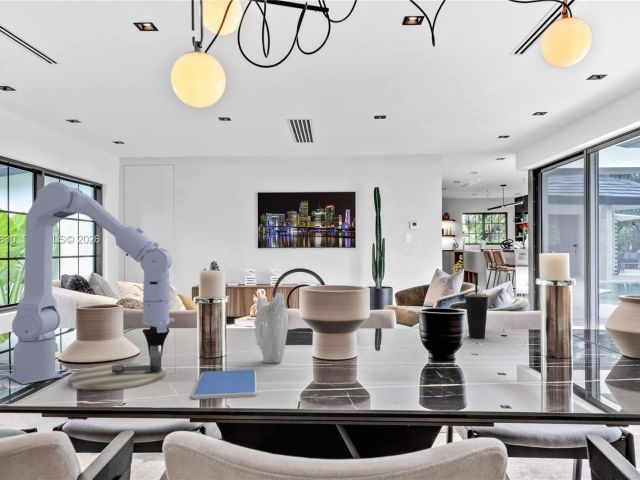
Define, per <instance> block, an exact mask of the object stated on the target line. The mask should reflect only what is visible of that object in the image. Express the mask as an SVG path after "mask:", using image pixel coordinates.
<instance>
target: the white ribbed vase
mask: <svg viewBox="0 0 640 480" xmlns="http://www.w3.org/2000/svg"><path fill="white" fill-rule="evenodd" d="M254 327H255V328H254V334H255V338H256V339H257V343H258V345H259V349H260V350H261V351H260V352H261V354H262V359H263V362H264V363H266V364H279V363H282V362H283V359H284V356H285V349H286V348H285V347H286V342H287V335H288V329H289V315H288V312H287V308H286V307H285V295H284V293H282V292H276V293H275V295H274V297H273V298H272V301H270V302H269V301H268V300H267V299H266V298H263V297H258V300H257V301H256V312H255V320H254Z"/></svg>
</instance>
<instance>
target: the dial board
mask: <svg viewBox="0 0 640 480" xmlns="http://www.w3.org/2000/svg"><path fill="white" fill-rule="evenodd" d="M116 364H117V363H115V364H107V365H106V364H105V365H99V366H95V367H90V368H86V369H83V370H80V371H77V372H74V373H72V374H71V375H70V376H69V377H68V378H67V379H68V380H67V382H68V386H69V385H70V386H71V388H72V387H73V388H72V389H75V388H77V389H76V390H79V389H82V391H89V390H105V391H114V390H113V389H118V390H123V389H122V388H126V389H131V388H130V387H132V388H136V386H138V387H141V386H140V385H142V386H145V385H144V384H146V385H149V384H148V383H150V384H152V383H151V382H153V383H155V382H154V381H156V380H158V379H160V378H162V377H163V376H166V375H165V374H167V369H166V367H165V366H164V365H161V370H159V371H124V372H119V373H113V372H112V366H113V365H116ZM121 364H126V366H132V365H150V362H149V363H148V362H126V363H121ZM163 378H164V377H163ZM163 378H162V379H163ZM160 380H161V379H160ZM158 381H159V380H158ZM156 382H157V381H156ZM70 386H69V387H70Z"/></svg>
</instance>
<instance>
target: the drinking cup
mask: <svg viewBox="0 0 640 480" xmlns="http://www.w3.org/2000/svg"><path fill="white" fill-rule="evenodd" d="M474 289H475V290H474V291H472V292H468V293H467V294H464V299H465V309H466V318H467V327H468V335H469V338H471V339H479V340H480V339H485V338H486V330H487V329H486V328H487V316H488V315H487V314H488V304H489V303H488V301H489V298H490V296H489V295H487V294H485V293H483V292H481V291H478V276H477V275H475V276H474Z"/></svg>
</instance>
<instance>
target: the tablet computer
mask: <svg viewBox="0 0 640 480" xmlns="http://www.w3.org/2000/svg"><path fill="white" fill-rule="evenodd" d="M257 377H258V376H257V370H255V369H239V370H238V369H237V370H235V369H233V370H213V371H211V370H210V371H202V372H201V373H200V375H199V377H198V380H197V382H196V385H195V387H194V389H193V391H192V394H191V396H190V397H191V399H193V400H211V399H213V398H214V399H229V398H231V399H232V398H247V397H248V398H249V397H255V396H257V394H258V386H257ZM209 398H211V399H209ZM214 399H213V400H214Z"/></svg>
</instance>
